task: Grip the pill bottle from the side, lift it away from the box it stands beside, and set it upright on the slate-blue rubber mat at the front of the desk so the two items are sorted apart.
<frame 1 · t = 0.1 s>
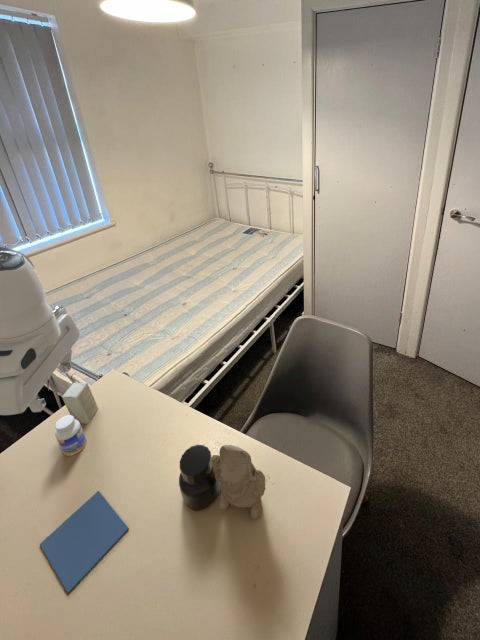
hand: (54, 387, 65), 32 cm above the table, tool pointing down, fingers open, 8 cm apart
figurine: (242, 505, 74), on the table
box: (86, 416, 95), on the table
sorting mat: (85, 536, 69), on the table
pill bottle: (75, 446, 86), on the table
ink bottle: (202, 490, 77), on the table
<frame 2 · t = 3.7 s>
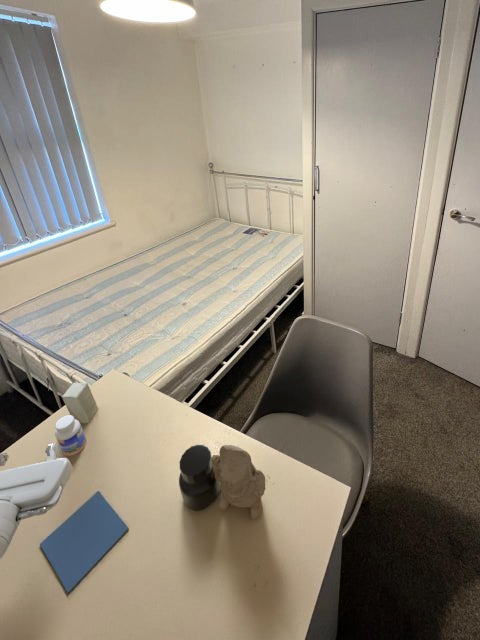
hand: (29, 449, 69), 17 cm above the table, tool horizontal, fingers open, 8 cm apart
nothing on the table moved.
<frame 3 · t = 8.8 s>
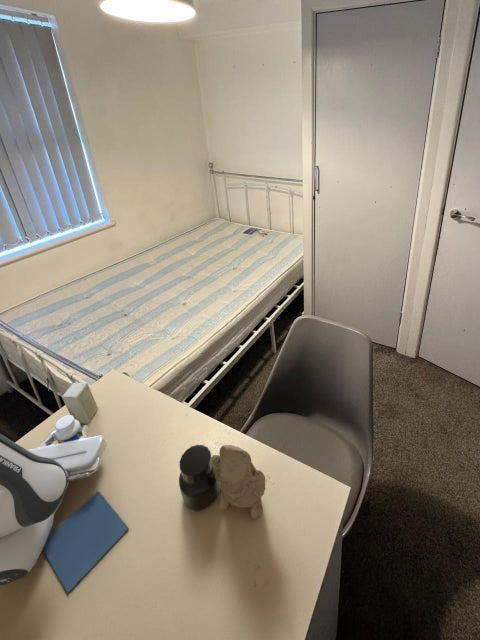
hand: (70, 429, 85), 6 cm above the table, tool horizontal, fingers closed on pill bottle, 5 cm apart
pill bottle: (75, 446, 86), on the table, touching gripper
everything else where it was.
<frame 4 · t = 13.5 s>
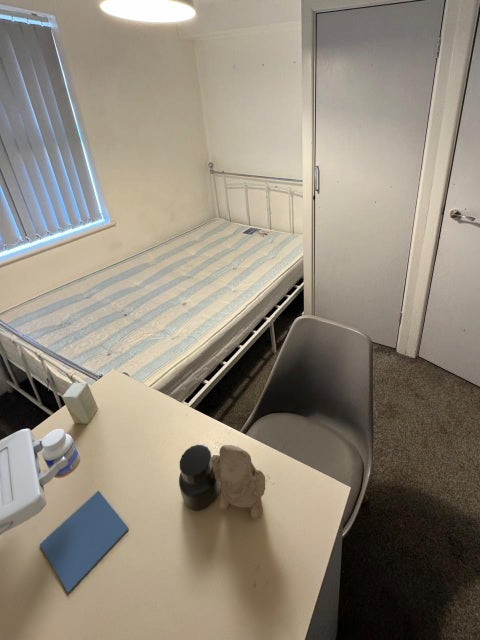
hand: (63, 447, 70), 16 cm above the table, tool horizontal, fingers closed on pill bottle, 5 cm apart
pill bottle: (67, 466, 72), point 11 cm above the table, touching gripper
everything else where it was.
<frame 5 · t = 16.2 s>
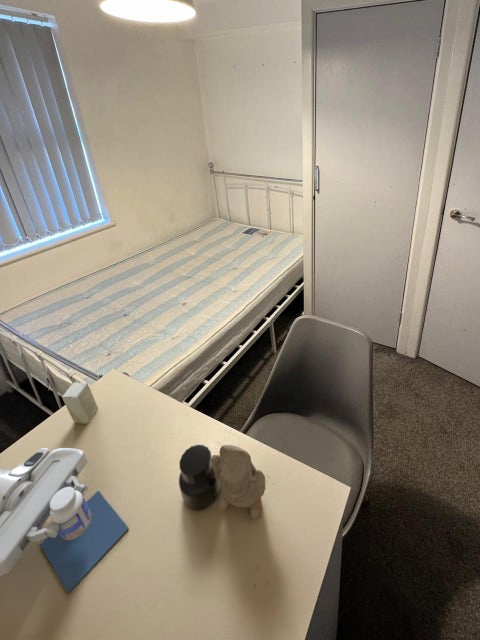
hand: (72, 509, 64), 11 cm above the table, tool horizontal, fingers closed on pill bottle, 5 cm apart
pill bottle: (76, 525, 66), point 5 cm above the table, touching gripper
everything else where it was.
when the fingers open (6 cm above the table, at t = 18.2 s): pill bottle stays where it is, resting on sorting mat.
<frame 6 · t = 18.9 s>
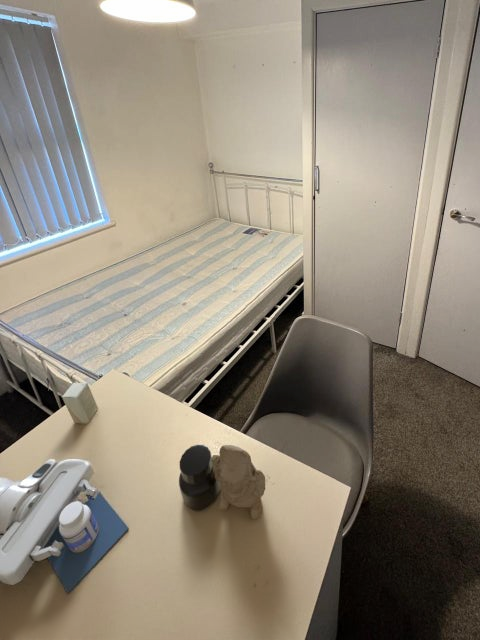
hand: (79, 520, 66), 7 cm above the table, tool horizontal, fingers open, 8 cm apart
pill bottle: (84, 537, 68), resting on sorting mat
everything else where it was.
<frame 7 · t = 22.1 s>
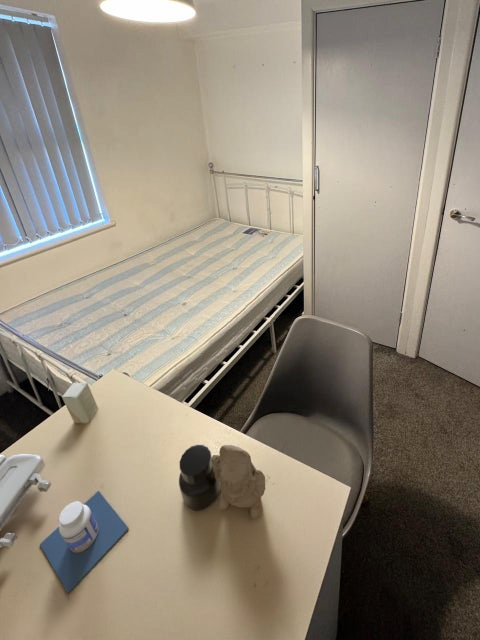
hand: (32, 511, 69), 5 cm above the table, tool horizontal, fingers open, 8 cm apart
nothing on the table moved.
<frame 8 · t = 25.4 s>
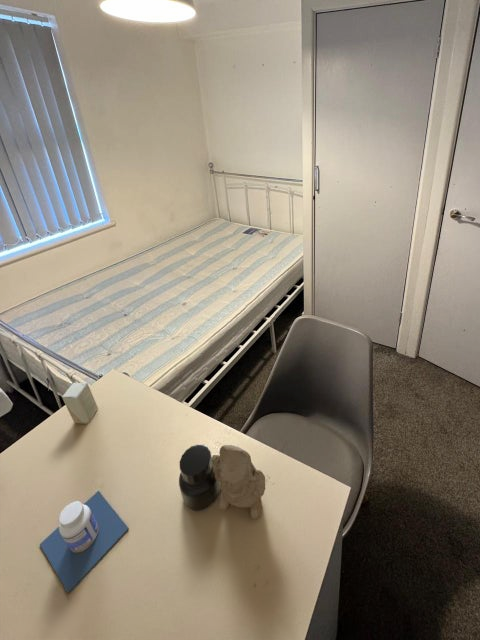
nothing on the table moved.
at the end: pill bottle inside the target area on the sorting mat (0.2 cm from its centre), point 0.2 cm above the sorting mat's base; pill bottle tilted 0°; box moved 0.2 cm from its start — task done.
